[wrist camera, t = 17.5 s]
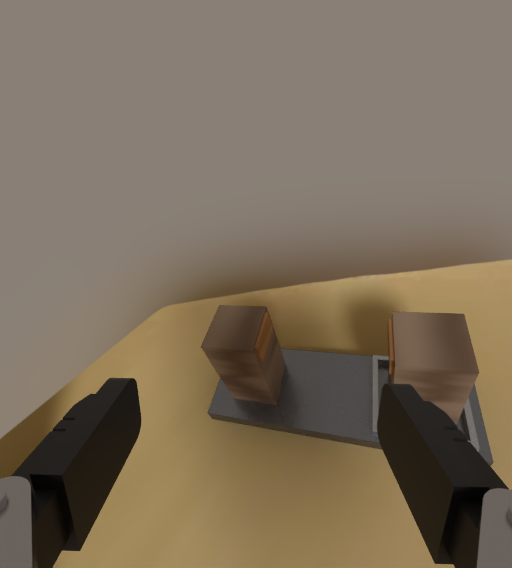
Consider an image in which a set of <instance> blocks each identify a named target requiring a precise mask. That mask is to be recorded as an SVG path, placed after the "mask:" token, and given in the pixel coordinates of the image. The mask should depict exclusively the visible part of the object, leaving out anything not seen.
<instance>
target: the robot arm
mask: <svg viewBox="0 0 512 568" xmlns="http://www.w3.org/2000/svg"><path fill="white" fill-rule="evenodd" d="M140 427H141V412H140V405H139V397H138V389H137V383H136V380H135V379H134V378H109V379H108V380H107V381H106V382H105V383H104V385H103V386H102V387H101V388H100V389H99V391H98V392H97V393H96V394H90V395H88V396H87V397H85V398H84V399H82V400H81V401H79V402H78V403H76V404H75V405H74V406H73V407H72V408H71V409H70V410H69V411H68V413H67V414H66V415H65V416H64V417H63V420H60V422H59V423H58V424H57V425H56V426H55V427H54V428H53V431H52V432H50V433H49V434H48V435H47V436H46V437H45V438H44V440H43V441H42V442H41V443H40V444H39V445H38V446H37V447H36V449H35V450H34V451H33V452H32V453H31V454H30V455H29V456H28V458H27V459H26V460H25V461H24V462H23V463H22V464H21V466H20V467H19V468H18V469H17V470H16V471H15V472H14V473H13V475H12V476H10V477H5V478H1V479H0V568H53V565H54V564H55V562H56V560H57V558H58V556H59V555H60V553H61V551H62V550H66V551H80V550H81V548H82V546H83V544H84V542H85V540H86V538H87V536H88V534H89V532H90V530H91V528H92V526H93V524H94V522H95V520H96V518H97V517H98V515H99V513H100V511H101V509H102V507H103V505H104V503H105V501H106V499H107V497H108V495H109V493H110V491H111V489H112V487H113V485H114V483H115V481H116V479H117V477H118V475H119V473H120V472H121V470H122V468H123V466H124V464H125V462H126V460H127V458H128V456H129V454H130V452H131V450H132V448H133V446H134V444H135V442H136V440H137V438H138V435H139V432H140ZM377 433H378V439H379V442H380V445H381V447H382V450H383V452H384V454H385V456H386V458H387V460H388V463H389V465H390V467H391V469H392V471H393V473H394V476H395V478H396V480H397V482H398V484H399V487H400V489H401V491H402V493H403V495H404V497H405V500H406V502H407V504H408V506H409V508H410V510H411V513H412V515H413V517H414V519H415V521H416V524H417V526H418V528H419V530H420V532H421V534H422V537H423V539H424V541H425V543H426V545H427V547H428V550H429V552H430V554H431V556H432V558H433V561H434V563H435V564H454V566H455V568H512V490H509V489H508V487H507V486H506V485H505V484H504V483H503V481H502V480H501V479H500V478H499V476H498V475H497V474H496V473H495V472H494V470H493V469H492V468H491V467H490V466H489V464H488V463H487V462H486V461H485V459H484V458H483V457H482V456H481V455H480V453H479V452H478V451H477V450H476V448H475V447H474V446H473V445H472V444H471V442H468V439H467V438H466V436H465V435H464V434H463V433H462V431H461V430H458V427H457V425H456V424H455V423H454V422H453V421H452V419H451V418H450V417H449V416H448V414H447V413H446V412H444V411H443V410H441V409H440V408H439V407H437V406H436V405H435V404H433V403H432V402H430V401H423V399H422V398H421V397H420V395H419V394H418V393H417V391H416V390H415V389H414V388H413V386H412V385H410V384H384V385H383V387H382V392H381V399H380V406H379V413H378V420H377Z"/></svg>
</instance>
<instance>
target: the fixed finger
mask: <svg viewBox="0 0 512 568" xmlns="http://www.w3.org/2000/svg"><path fill="white" fill-rule="evenodd" d="M201 348H202V349H203V351H204V352H205V354H206V356H207V357H208V359H209V360H210V362H211V364H212V365H213V367H214V368H215V370H216V371H217V373H218V375H219V376H220V378H221V379H222V381H223V383H224V384H225V386H226V387H227V389H228V390H229V392H230V394H231V395H232V397H233V398H234V399H239V400H246V401H253V402H259V403H266V404H273V405H277V401H278V396H279V392H280V387H281V383H282V378H283V374H284V369H285V364H286V363H285V360H284V358H283V355H282V352H281V349H280V346H279V343H278V340H277V337H276V334H275V331H274V328H273V324H272V321H271V318H270V315H269V312H268V311H267V308H266V307H257V306H224V305H219V307H218V310H217V312H216V314H215V316H214V319H213V321H212V323H211V325H210V327H209V330H208V332H207V334H206V336H205V339H204V341H203V343H202V345H201Z"/></svg>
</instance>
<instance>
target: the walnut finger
mask: <svg viewBox="0 0 512 568" xmlns="http://www.w3.org/2000/svg"><path fill="white" fill-rule="evenodd" d="M388 353H389V371H388V382H389V384H410V385H412V386H413V388H414V389H415V390H416V391H417V393H418V394H419V395H420V397H421V398H422V399H423V401H430V402H432V403H433V404H435V405H436V406H437V407H439V408H440V409H441V410H443V411H444V412H446V413H447V414H448V416H449V417H450V418H451V419H452V421H453V422H454V423H455V424H457V422H458V420H459V417H460V415H461V413H462V410H463V408H464V406H465V404H466V401H467V399H468V397H469V394H470V392H471V390H472V387H473V385H474V383H475V381H476V378H477V376H478V374H479V370H478V366H477V362H476V358H475V355H474V351H473V347H472V343H471V339H470V335H469V331H468V328H467V324H466V320H465V316H464V314H453V313H420V312H392V318H388Z"/></svg>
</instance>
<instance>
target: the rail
mask: <svg viewBox="0 0 512 568" xmlns="http://www.w3.org/2000/svg"><path fill="white" fill-rule="evenodd" d="M281 352H282V355H283V358H284V360H285V363H286V364H285V369H284V374H283V378H282V383H281V387H280V392H279V396H278V401H277V405H273V404H266V403H259V402H253V401H246V400H239V399H234V398H233V397H232V395H231V394H230V392H229V390H228V389H227V387H226V386H225V384H224V383H223V381H222V379H221V378H220V381H219V383H218V386H217V389H216V391H215V394H214V397H213V399H212V402H211V405H210V408H209V410H208V414H209V415H210V416H211V418H212V419H217V420H223V421H228V422H234V423H239V424H245V425H250V426H256V427H261V428H267V429H273V430H278V431H284V432H289V433H295V434H300V435H306V436H311V437H317V438H322V439H328V440H334V441H339V442H345V443H350V444H356V445H361V446H367V447H372V448H378V449H382V447H381V445H380V442H379V439H378V433H377V420H378V413H379V406H380V399H381V392H382V387H383V385H384V384H389V382H388V371H389V356H380V355H373V356H365V355H352V354H340V353H328V352H315V351H303V350H290V349H281ZM456 425H457V427H458V430H461V431H462V433H463V434H464V435H465V436H466V438H467V439H468V442H471V444H472V445H473V446H474V447H475V448H476V450H477V451H478V452H479V453H480V455H481V456H482V457H483V458H484V459H485V461H486V462H487V463H488V464H489V466H491V465H492V463H493V459H492V455H491V451H490V447H489V442H488V438H487V434H486V430H485V426H484V422H483V418H482V413H481V409H480V405H479V401H478V397H477V393H476V388H475V384H474V385H473V387H472V390H471V392H470V394H469V397H468V399H467V401H466V404H465V406H464V408H463V410H462V413H461V415H460V417H459V420H458V422H457V424H456Z"/></svg>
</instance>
